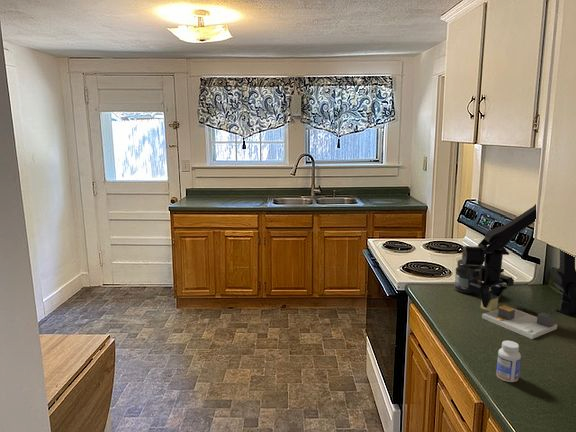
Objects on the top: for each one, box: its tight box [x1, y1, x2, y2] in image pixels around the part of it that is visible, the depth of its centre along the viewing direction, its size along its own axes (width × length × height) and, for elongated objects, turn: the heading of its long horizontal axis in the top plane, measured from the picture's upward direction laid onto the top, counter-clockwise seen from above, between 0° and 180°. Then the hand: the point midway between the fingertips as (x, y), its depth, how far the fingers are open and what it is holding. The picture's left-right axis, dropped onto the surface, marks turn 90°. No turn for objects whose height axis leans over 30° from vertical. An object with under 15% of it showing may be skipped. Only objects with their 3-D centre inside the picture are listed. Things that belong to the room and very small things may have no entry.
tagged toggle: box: [498, 304, 516, 320], centre depth 149 cm, size 3×4×3 cm
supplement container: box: [453, 258, 484, 295], centre depth 178 cm, size 10×10×12 cm
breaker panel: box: [481, 308, 558, 340], centre depth 149 cm, size 14×18×2 cm
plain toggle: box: [536, 311, 556, 327], centre depth 144 cm, size 3×4×3 cm
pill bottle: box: [496, 340, 522, 383], centre depth 116 cm, size 5×5×10 cm
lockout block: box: [480, 294, 499, 312], centre depth 161 cm, size 4×4×5 cm
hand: (489, 305), depth 161 cm, fingers open, 4 cm apart
